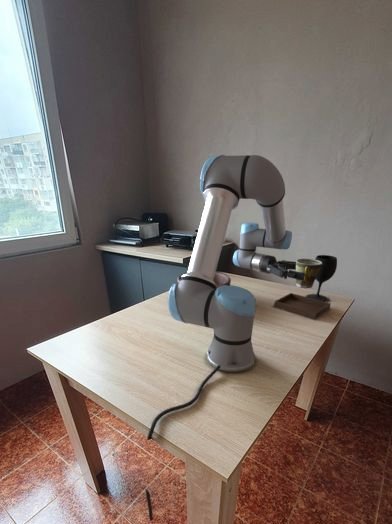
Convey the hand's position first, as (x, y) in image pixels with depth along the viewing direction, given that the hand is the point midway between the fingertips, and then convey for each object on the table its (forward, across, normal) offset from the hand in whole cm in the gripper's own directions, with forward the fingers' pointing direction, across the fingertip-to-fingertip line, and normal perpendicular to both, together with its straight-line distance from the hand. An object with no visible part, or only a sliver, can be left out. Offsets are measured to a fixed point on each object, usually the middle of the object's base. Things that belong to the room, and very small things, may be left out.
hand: (311, 273), depth 116 cm
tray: (-4, -7, -18) cm, 20 cm away
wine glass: (-4, -24, -18) cm, 31 cm away
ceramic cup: (-2, 0, -6) cm, 6 cm away
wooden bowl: (-43, +16, -18) cm, 49 cm away
